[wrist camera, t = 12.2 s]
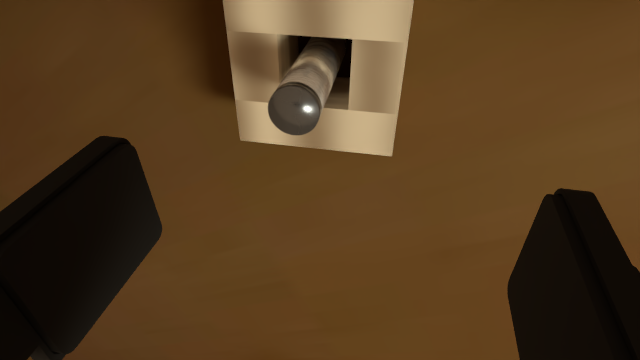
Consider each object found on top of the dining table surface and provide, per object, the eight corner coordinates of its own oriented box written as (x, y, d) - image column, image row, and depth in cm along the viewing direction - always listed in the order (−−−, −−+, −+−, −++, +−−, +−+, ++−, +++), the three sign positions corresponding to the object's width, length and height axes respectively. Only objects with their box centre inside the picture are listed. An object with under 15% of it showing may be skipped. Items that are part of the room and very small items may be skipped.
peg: (347, 28, 31) (319, 89, 21) (345, 66, 33) (318, 137, 23) (309, 26, 31) (266, 84, 22) (309, 63, 33) (269, 132, 24)
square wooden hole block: (415, -35, 28) (416, -19, 23) (394, 119, 35) (391, 156, 30) (250, -41, 29) (219, -28, 24) (262, 107, 36) (240, 140, 32)
